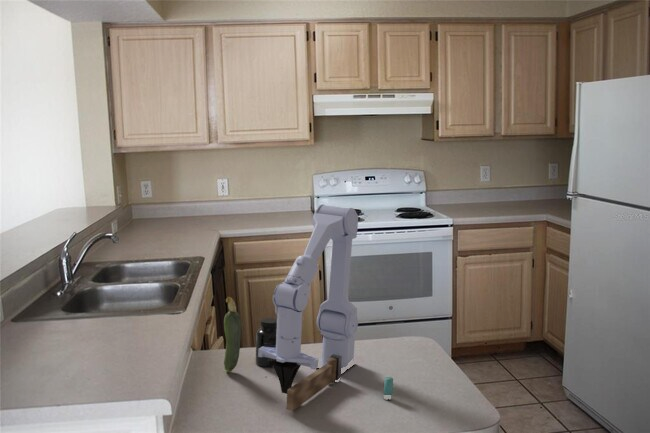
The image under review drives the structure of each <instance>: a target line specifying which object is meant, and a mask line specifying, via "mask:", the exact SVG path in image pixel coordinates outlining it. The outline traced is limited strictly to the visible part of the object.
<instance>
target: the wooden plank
mask: <svg viewBox="0 0 650 433" xmlns="http://www.w3.org/2000/svg"><path fill="white" fill-rule="evenodd" d="M336 364H337V359H335V358H328V359H327V364H325V365H324V366H322V367H321V368H319V369H316V370H315V371H313V372H312V373H310V374H309V375H307V376H306V377H304V378H303V379H301V380H300V381H298V382H297V383H295V384H294V385H292V387H291V388H289V389H288V390H287V394H286V408H285V409H286V410H288V411H291V412H293V411H295V410H296V409H297V408H299V407H301V405H303V404H304V403H305V402H308V400H310V399H311V398H312V397H314V396H315V395H317V393H319V392H321V391H322V390H323V389H325V388H326V387H327V386H329V385H330V384H333V383H335V380H336Z"/></svg>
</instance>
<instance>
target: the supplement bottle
mask: <svg viewBox="0 0 650 433" xmlns="http://www.w3.org/2000/svg"><path fill="white" fill-rule="evenodd" d="M259 327H260V328H258V329H257V332H256V334H255V335H256V336H255V338H256V340H255V359H254V360H255V363H256V365H257V366H259V367H261V368H265V369H266V368H270V369H271V368H273V364H274V363H275V361H276V359H272V358H267V357H258V349H259V348H261V347H262V346H263V347H270V348H276V332H277V318H276V317H264V318H261V320H260V324H259Z"/></svg>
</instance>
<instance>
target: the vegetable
mask: <svg viewBox="0 0 650 433" xmlns="http://www.w3.org/2000/svg"><path fill="white" fill-rule="evenodd" d="M225 302H226V304H227V303H228V304H227V307H228V312H227V313H225V315H224V318H223V329H224V330H223V331H224V335H225V340H226V344H225V351H224V360H223V365H224V366H223V367H224V370H225V371H226V373H231V372H232V371H233V370H234V369H235V368H236V367H237V365H238V361H239V358H240V350H241V336H242V335H241V334H242V319H241V316H240V314H239V313H238V311H237V306H236V303H235V300H234V298H232V297H231V296H227V298H225Z"/></svg>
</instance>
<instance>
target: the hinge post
mask: <svg viewBox="0 0 650 433" xmlns="http://www.w3.org/2000/svg"><path fill="white" fill-rule="evenodd" d="M330 358H335V359H337V364H336V380H338V379H339V378H340V377H341V376H342V375H341V362H342V356H339V355H335V354H333V355H331V356H330ZM340 379H341V378H340Z"/></svg>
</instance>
